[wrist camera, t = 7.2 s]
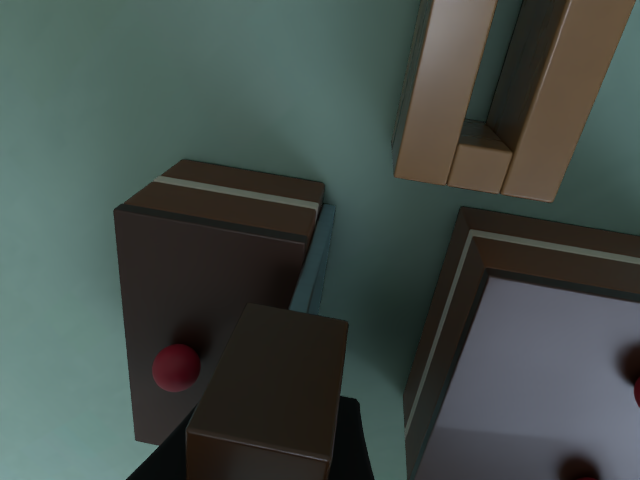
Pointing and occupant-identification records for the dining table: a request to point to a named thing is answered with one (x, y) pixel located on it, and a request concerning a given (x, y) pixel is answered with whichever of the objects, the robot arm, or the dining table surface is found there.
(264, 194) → the cake slice
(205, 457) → the cake cutter
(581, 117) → the knife block
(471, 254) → the chocolate cake
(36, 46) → the dining table surface
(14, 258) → the dining table surface
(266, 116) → the dining table surface
